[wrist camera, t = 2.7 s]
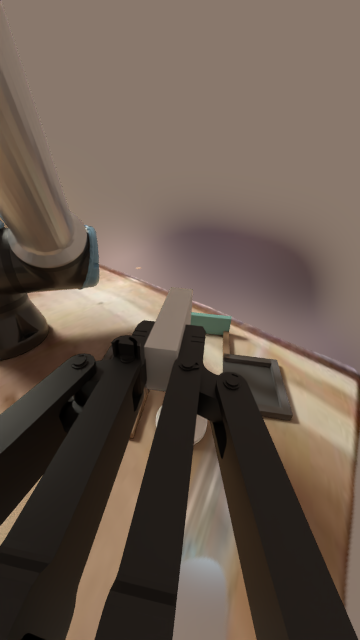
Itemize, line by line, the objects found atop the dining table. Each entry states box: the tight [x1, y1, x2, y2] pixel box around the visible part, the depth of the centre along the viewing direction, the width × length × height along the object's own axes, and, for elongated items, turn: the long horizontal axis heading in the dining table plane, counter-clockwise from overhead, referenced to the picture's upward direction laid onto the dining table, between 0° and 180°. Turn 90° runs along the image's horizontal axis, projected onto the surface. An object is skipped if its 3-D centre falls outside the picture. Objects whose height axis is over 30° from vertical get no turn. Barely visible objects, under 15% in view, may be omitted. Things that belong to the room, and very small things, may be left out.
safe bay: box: [190, 312, 231, 335], centre depth 54 cm, size 1×15×4 cm, turn 81°
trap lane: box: [102, 331, 293, 438], centre depth 43 cm, size 27×33×1 cm
